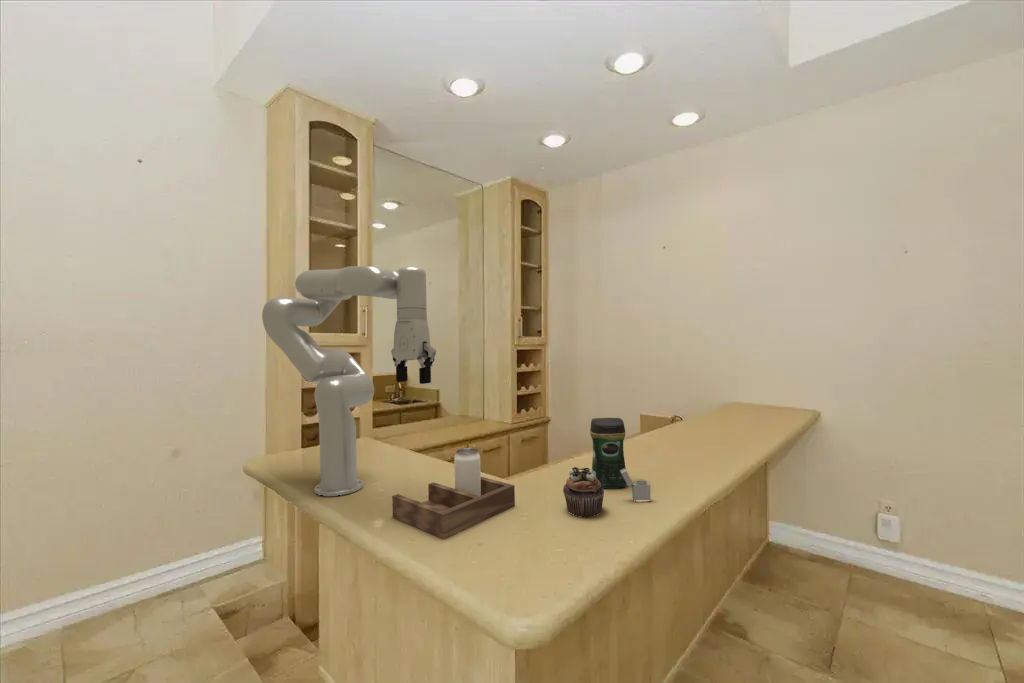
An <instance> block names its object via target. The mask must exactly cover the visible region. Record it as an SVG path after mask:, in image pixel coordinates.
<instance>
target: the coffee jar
mask: <svg viewBox="0 0 1024 683" xmlns="http://www.w3.org/2000/svg"><path fill="white" fill-rule="evenodd" d="M589 429H590V430H589V433H590V438H591V440H592V464H591V473H592V474H593V475H595V477H596V478H597V479H598V480H599V482H600V483H601V488H602V489H617V488H619V487H620V488H625V487H626V486H628V485H627V483H626V481H625V480H624V478H623V476H622V474H621V472H620V470H622V469H624V468H625V469H627V468H626V463H625V462H626V461H625V460H626V459H625V455H624V452H625V451H624V440H625V437H626V427H625V422H624V420H623V419H622V418H620V417H597V418H592V419H591V421H590V428H589Z"/></svg>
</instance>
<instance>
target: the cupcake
mask: <svg viewBox="0 0 1024 683" xmlns="http://www.w3.org/2000/svg"><path fill="white" fill-rule="evenodd" d="M580 470H581V471H580ZM568 474H569V476H568V478H567V479H566V481H565V482H566V483H565V484H564V486H563V491H562V492H563V493H562V494H563V496H564V499H565V504H566V509H567V511H568V513H569V512H570V513H572V514H574V515H577V516H576V517H578V516H582V517H581V518H592V517H591V516H594V515H597V514H599V513H600V514H601V512H602V510H603V509H602V508H603V501H604V496H605V488H601V483H600V482H599V480H598V479H597V478H596V477H595V475H593V474H592V471H591V470H590V468H589V467H583V468H579V467H575V466H574V467H572V468H571V469H570V470H569V473H568ZM570 513H569V514H570ZM572 514H571V515H572ZM600 514H599V515H600ZM574 515H573V516H574ZM584 516H585V517H584ZM597 516H598V515H597ZM594 517H595V516H594Z"/></svg>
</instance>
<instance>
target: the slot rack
mask: <svg viewBox="0 0 1024 683" xmlns="http://www.w3.org/2000/svg"><path fill="white" fill-rule="evenodd" d="M427 485H428V499H427V500H425V501H422V502H421V501H418V500H416V499H413V498H411V497H407V496H405V495H402V494H399V493H398V494H395V495H392V496H391V498H392V505H391V506H392V518H393V517H394V518H393V519H395V518H396V519H395V520H397V519H398V520H397V521H400V522H402V521H403V523H404V522H405V524H407V525H410V526H412V527H414V528H417V529H419V530H422V531H423V532H425V533H428V534H430V535H433V536H436V537H438V538H440V539H442V540H445V539H448V538H450V537H451V536H453V535H456V534H458V533H460V532H462V531H465V530H467V529H469V528H471V527H473V526H475V525H477V524H479V523H481V522H484V521H485V520H488V519H490V518H492V517H494V516H496V515H498V514H500V513H502V512H504V511H506V510H509V509H512V508H514V507H515V506H516V502H515V501H516V497H515V496H516V495H515V494H516V493H515V489H516V488H515V486H516V485H514V484H512V483H507V482H503V481H500V480H499V481H498V480H495V479H492V478H488V477H484V476H481V496H477V495H474V494H470V493H467V492H464V491H460V490H457V489H455V487H450V486H447V485H443V484H440V483H437V482H434V481H433V482H430V483H428V484H427Z"/></svg>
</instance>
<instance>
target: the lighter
mask: <svg viewBox="0 0 1024 683" xmlns="http://www.w3.org/2000/svg"><path fill="white" fill-rule="evenodd" d="M626 469H627V468H626ZM626 469H625V468H624V469H622V470H620V472H621V474H622V476H623V478H624V480H625V481H626V483H627V485H626V486H627V487H628V488H630V487H631V488H632V489H631V490H632V491H631V494H632V495H631V496H632V497H631V498H633V500H635V501H636V500H651V499H652V497H651V484H650V483H649V482H648V481H647V480H646V479H644V478H643V479H642V478H641V479H640V478H639V479H638V478H637V479H636V482H633V481H632V479H631V477H630V475H629V473H628V471H627V470H626ZM633 500H632V501H633Z"/></svg>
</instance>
